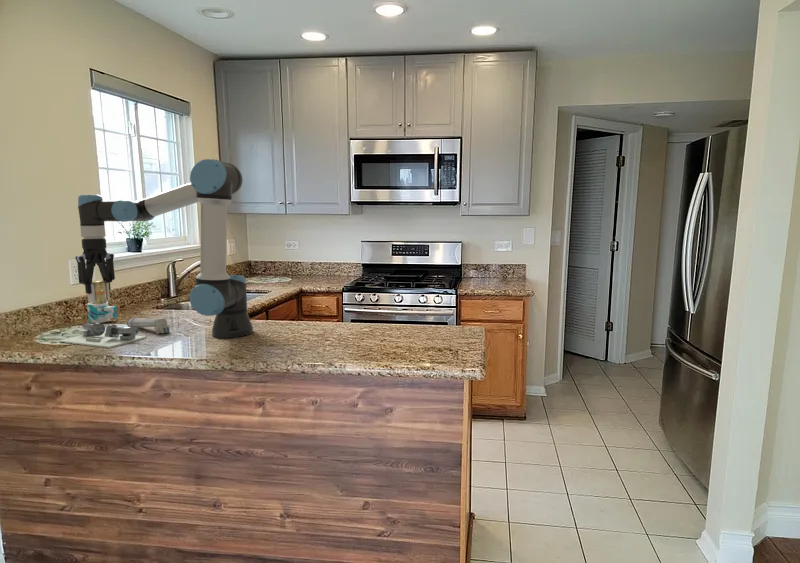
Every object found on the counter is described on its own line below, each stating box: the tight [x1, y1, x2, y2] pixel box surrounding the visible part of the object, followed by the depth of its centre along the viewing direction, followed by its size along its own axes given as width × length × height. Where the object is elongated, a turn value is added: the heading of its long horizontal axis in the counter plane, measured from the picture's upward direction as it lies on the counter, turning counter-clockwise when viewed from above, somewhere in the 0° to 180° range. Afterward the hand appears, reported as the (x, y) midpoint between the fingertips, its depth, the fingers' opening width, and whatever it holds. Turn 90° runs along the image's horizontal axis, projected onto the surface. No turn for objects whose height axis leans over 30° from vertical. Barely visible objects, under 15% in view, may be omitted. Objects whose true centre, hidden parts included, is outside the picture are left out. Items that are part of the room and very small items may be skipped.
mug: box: [86, 301, 118, 324], centre depth 217 cm, size 8×12×8 cm
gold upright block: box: [91, 280, 108, 304], centre depth 180 cm, size 5×5×8 cm
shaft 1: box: [82, 322, 106, 337], centre depth 188 cm, size 10×5×5 cm, turn 54°
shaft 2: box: [105, 323, 139, 341], centre depth 182 cm, size 10×5×5 cm, turn 84°
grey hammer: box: [126, 317, 171, 335], centre depth 199 cm, size 5×7×25 cm
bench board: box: [58, 331, 147, 349], centre depth 183 cm, size 26×15×2 cm, turn 69°
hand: (99, 300), depth 181 cm, fingers closed on gold upright block, 5 cm apart
